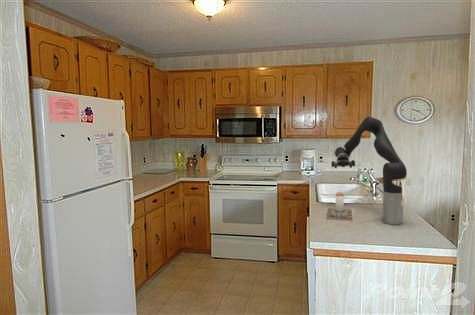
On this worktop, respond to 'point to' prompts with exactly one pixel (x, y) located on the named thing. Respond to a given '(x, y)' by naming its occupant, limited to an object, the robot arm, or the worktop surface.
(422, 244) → the worktop surface
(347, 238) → the worktop surface
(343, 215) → the socket collar
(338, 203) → the cylinder
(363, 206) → the worktop surface
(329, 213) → the jig board
